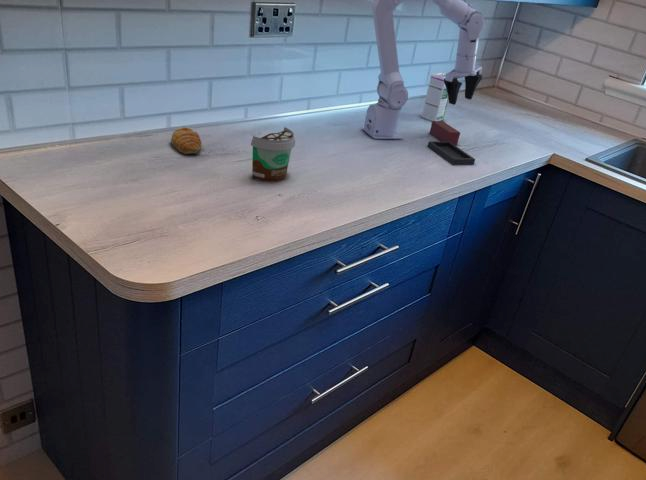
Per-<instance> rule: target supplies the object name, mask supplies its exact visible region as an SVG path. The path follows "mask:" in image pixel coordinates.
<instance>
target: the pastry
mask: <svg viewBox="0 0 646 480" xmlns="http://www.w3.org/2000/svg"><path fill="white" fill-rule="evenodd" d="M170 142H171V144H172V146H173V147H174V148H175V149H176V151H178V152H179V153H183V154H184V155H188V154H198V153H199V151H200V150H201V148H202V140H201V138H200V134H198V132H196V131H194V130H193V129H192V128H189V127H185V126H184V127H180V128H176V129H175V130H174V131H173V133H172V135H171V139H170Z"/></svg>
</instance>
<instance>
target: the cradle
mask: <svg viewBox="0 0 646 480" xmlns="http://www.w3.org/2000/svg"><path fill="white" fill-rule="evenodd" d="M427 147H428V148H429V149H430V150H432V151H433V152H434V153H436V154H437V155H439V156H440V157H441V158H443V159H444V160H445V161H447V162H448V163H450V164H451V165H453V166H455V165H456V166H457V165H460V166H461V165H465V166H466V165H475V162H476V158H475V157H473V156H472V155H470V154H468V153H467V152H465V151H464V150H462V149H461V148H460V147H458V146H457V145H454V144H452V143H451V142H446V141H440V140H439V141H437V140H436V141H435V140H434V141H431V140H429V141H428V142H427Z"/></svg>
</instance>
